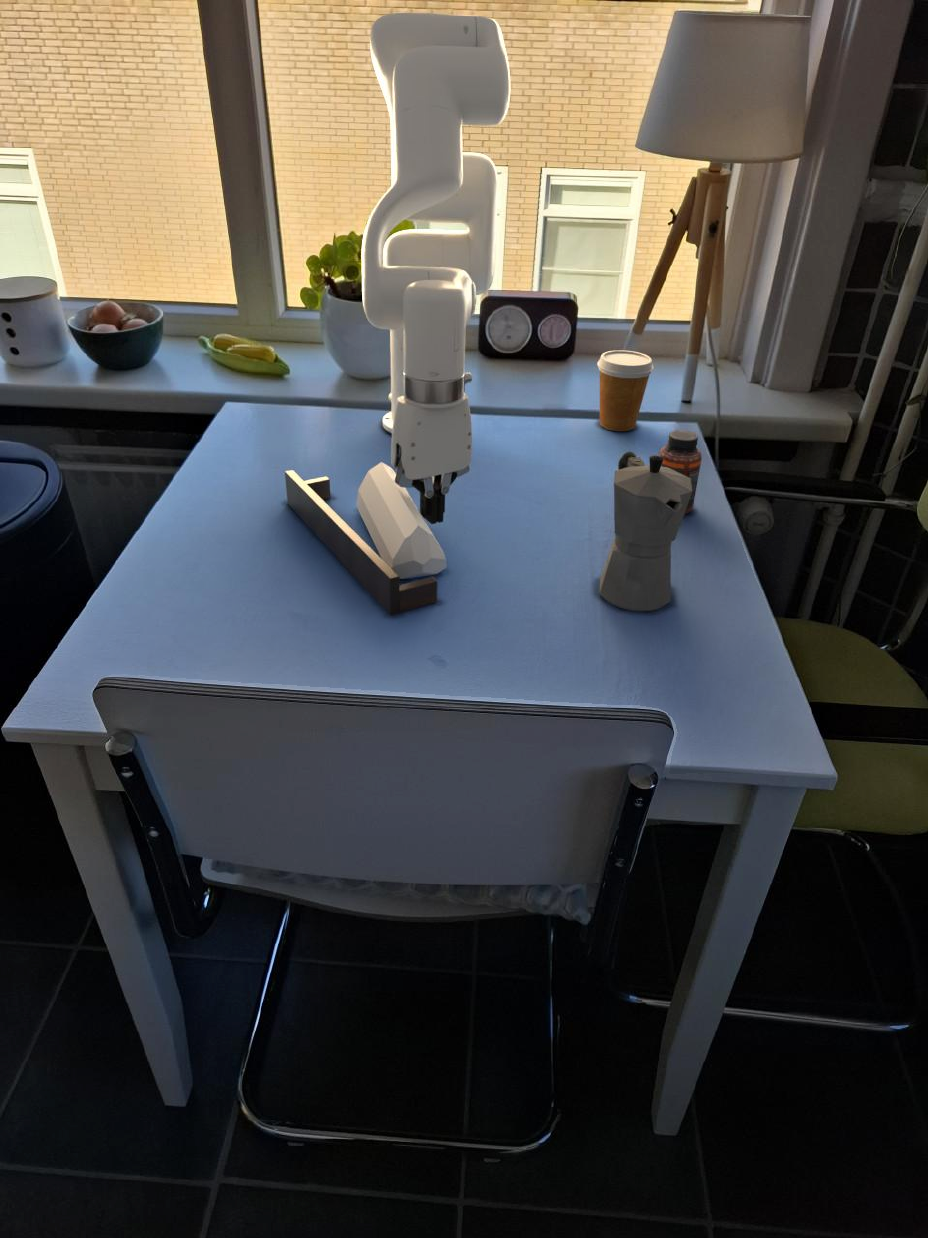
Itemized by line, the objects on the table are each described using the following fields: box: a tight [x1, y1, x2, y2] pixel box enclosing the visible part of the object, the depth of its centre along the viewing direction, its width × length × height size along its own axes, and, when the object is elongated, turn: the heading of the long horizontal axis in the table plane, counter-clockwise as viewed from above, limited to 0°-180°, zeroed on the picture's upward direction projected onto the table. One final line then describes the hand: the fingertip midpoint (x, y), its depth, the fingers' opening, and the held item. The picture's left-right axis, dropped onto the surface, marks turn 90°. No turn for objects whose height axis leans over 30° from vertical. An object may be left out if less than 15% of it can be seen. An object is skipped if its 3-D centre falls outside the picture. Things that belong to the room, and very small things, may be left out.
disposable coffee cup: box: [597, 349, 654, 432], centre depth 152 cm, size 10×10×12 cm
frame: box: [284, 469, 438, 616], centre depth 114 cm, size 33×6×5 cm, turn 30°
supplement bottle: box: [658, 429, 703, 515], centre depth 125 cm, size 6×6×11 cm
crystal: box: [356, 461, 448, 580], centre depth 116 cm, size 7×7×24 cm
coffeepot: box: [598, 451, 692, 612], centre depth 104 cm, size 15×9×18 cm, turn 13°
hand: (432, 519), depth 119 cm, fingers closed
